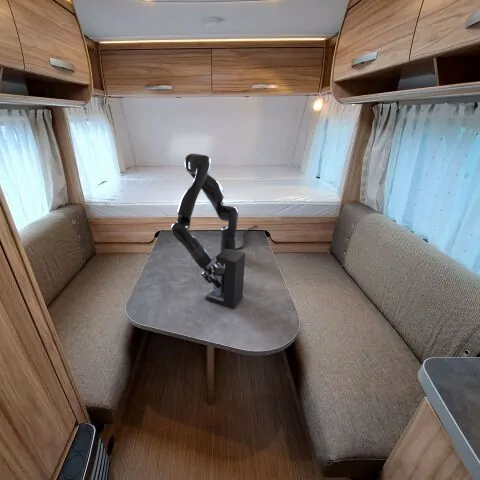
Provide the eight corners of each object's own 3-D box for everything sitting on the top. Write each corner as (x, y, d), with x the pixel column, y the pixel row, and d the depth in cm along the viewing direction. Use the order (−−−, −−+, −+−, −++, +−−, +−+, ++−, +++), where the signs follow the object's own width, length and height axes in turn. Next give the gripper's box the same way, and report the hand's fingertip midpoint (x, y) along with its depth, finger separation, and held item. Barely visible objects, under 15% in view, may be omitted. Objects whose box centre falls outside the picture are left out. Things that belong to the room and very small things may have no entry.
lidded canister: (214, 289, 133) (215, 266, 128) (226, 291, 132) (227, 268, 126) (211, 296, 127) (212, 273, 122) (224, 298, 126) (225, 274, 121)
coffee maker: (205, 299, 128) (205, 254, 118) (216, 287, 137) (216, 245, 127) (233, 308, 121) (235, 262, 112) (242, 296, 130) (245, 252, 121)
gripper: (198, 258, 119) (221, 288, 118) (213, 246, 130) (234, 273, 130) (188, 266, 123) (210, 294, 123) (203, 254, 135) (224, 280, 134)
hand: (222, 283), depth 126 cm, fingers closed on lidded canister, 6 cm apart
